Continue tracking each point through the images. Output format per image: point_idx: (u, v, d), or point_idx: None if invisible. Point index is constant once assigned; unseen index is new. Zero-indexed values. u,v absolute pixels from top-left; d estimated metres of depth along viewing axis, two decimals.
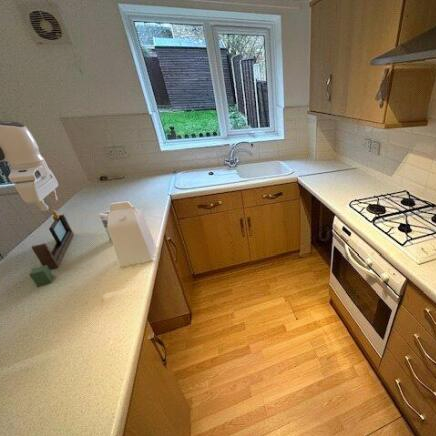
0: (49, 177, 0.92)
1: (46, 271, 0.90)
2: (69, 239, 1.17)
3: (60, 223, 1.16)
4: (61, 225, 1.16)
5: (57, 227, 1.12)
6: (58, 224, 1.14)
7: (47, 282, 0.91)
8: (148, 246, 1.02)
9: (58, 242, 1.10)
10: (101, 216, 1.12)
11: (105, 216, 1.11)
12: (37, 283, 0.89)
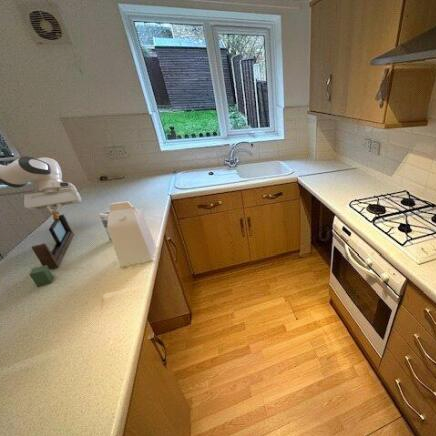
0: None
1: (46, 271, 0.90)
2: (69, 239, 1.17)
3: (60, 223, 1.16)
4: (61, 225, 1.16)
5: (57, 227, 1.11)
6: (58, 224, 1.13)
7: (47, 282, 0.91)
8: (148, 246, 1.02)
9: (58, 242, 1.09)
10: (101, 216, 1.12)
11: (105, 216, 1.11)
12: (37, 283, 0.89)
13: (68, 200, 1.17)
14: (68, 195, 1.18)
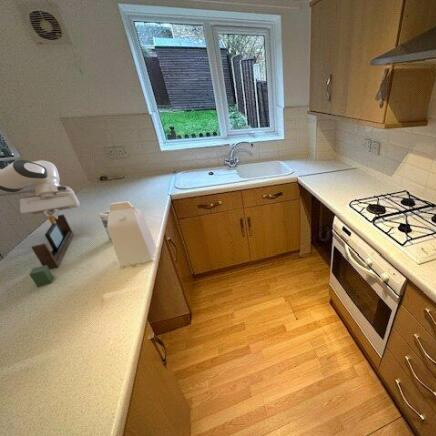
0: None
1: (46, 271, 0.90)
2: (69, 239, 1.17)
3: (57, 228, 1.12)
4: (58, 230, 1.12)
5: (53, 233, 1.07)
6: (55, 229, 1.09)
7: (47, 282, 0.91)
8: (148, 246, 1.02)
9: (54, 248, 1.05)
10: (101, 216, 1.12)
11: (105, 216, 1.11)
12: (37, 283, 0.89)
13: (66, 205, 1.13)
14: (65, 200, 1.14)
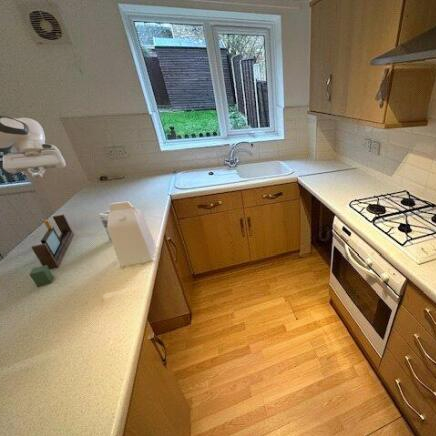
0: None
1: (46, 271, 0.90)
2: (69, 239, 1.17)
3: (54, 233, 1.08)
4: (55, 236, 1.07)
5: (50, 238, 1.03)
6: (51, 235, 1.05)
7: (47, 282, 0.91)
8: (148, 246, 1.02)
9: None
10: (101, 216, 1.12)
11: (105, 216, 1.11)
12: (37, 283, 0.89)
13: (51, 163, 1.09)
14: (51, 158, 1.10)
